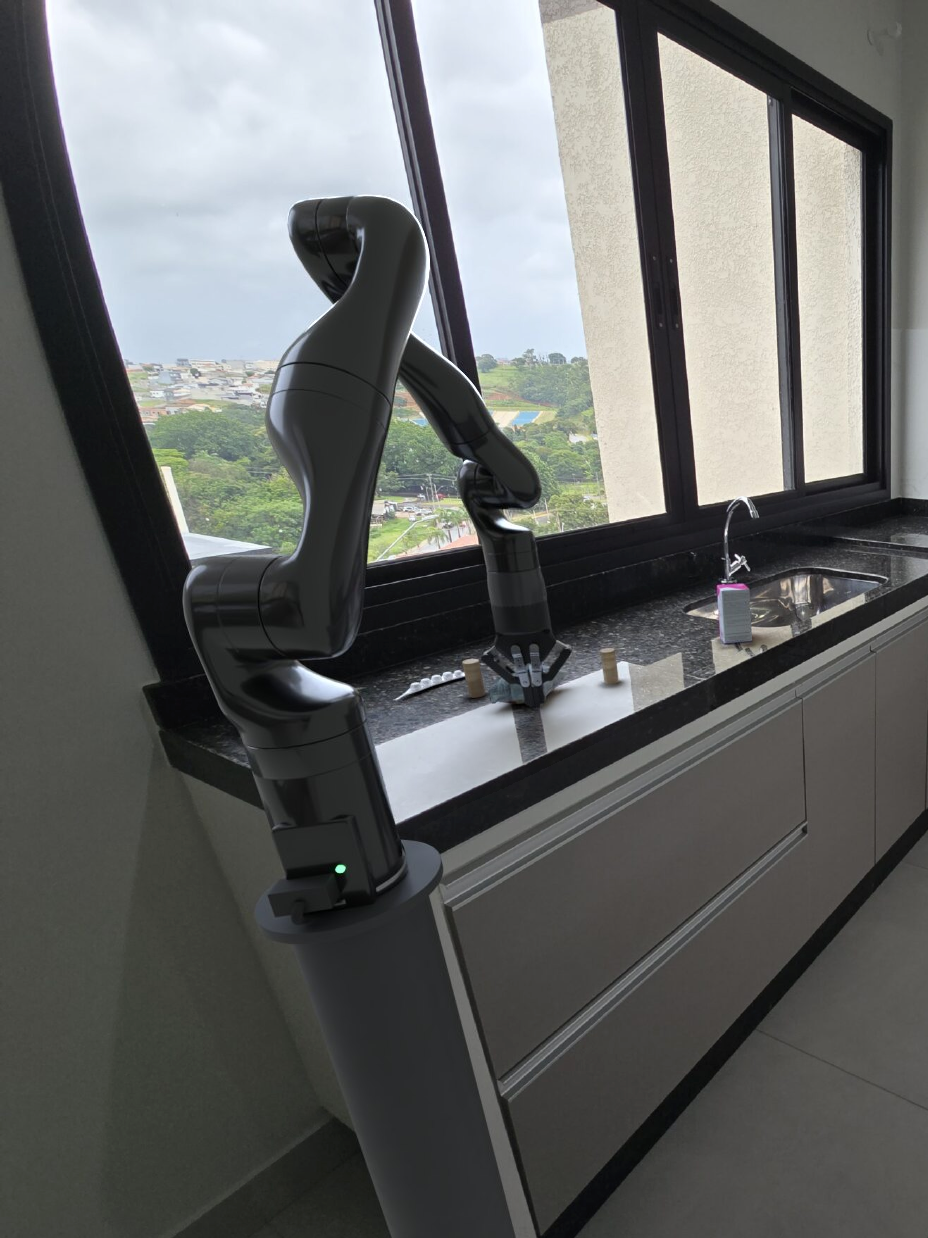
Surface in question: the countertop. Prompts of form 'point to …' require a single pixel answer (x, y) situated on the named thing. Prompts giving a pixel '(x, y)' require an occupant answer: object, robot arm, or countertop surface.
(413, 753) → the countertop surface
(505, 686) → the packaged food
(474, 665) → the marker peg left
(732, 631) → the supplement box
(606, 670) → the marker peg right
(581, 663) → the countertop surface
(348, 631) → the robot arm
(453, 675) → the pea pod
